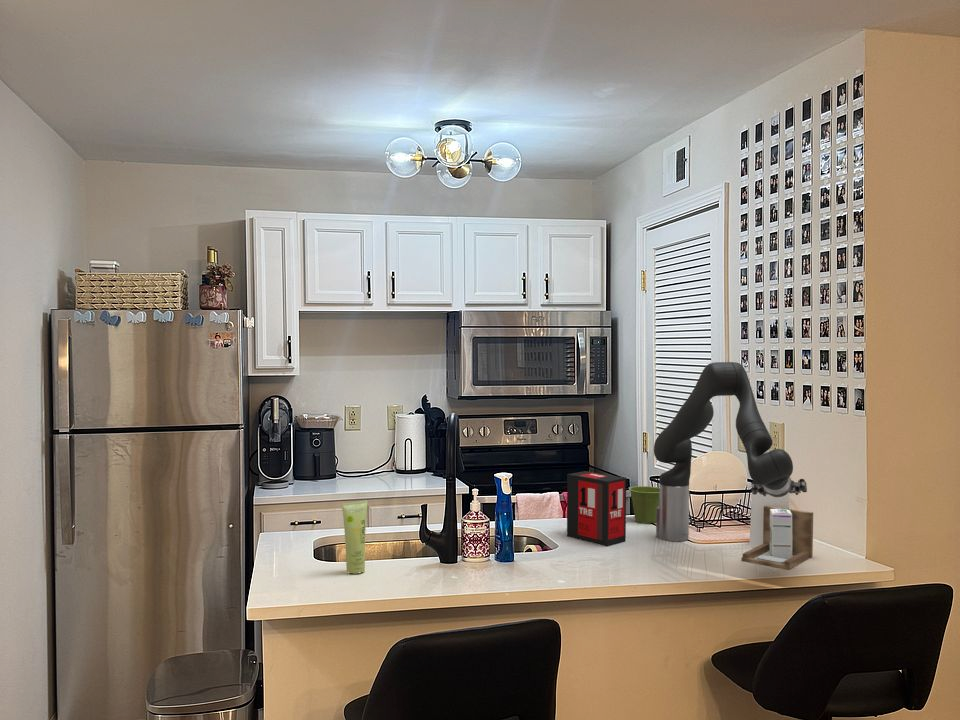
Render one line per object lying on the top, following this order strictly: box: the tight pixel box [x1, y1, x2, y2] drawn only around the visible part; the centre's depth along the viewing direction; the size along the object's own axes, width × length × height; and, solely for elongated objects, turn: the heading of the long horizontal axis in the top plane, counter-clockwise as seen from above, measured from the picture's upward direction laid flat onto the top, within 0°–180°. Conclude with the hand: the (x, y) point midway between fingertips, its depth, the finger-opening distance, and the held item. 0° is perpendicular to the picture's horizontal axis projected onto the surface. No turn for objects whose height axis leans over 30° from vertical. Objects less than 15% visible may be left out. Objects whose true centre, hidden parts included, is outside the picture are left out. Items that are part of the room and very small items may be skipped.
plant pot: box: [628, 485, 659, 525], centre depth 293 cm, size 12×12×11 cm
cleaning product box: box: [566, 470, 627, 547], centre depth 270 cm, size 16×9×20 cm, turn 42°
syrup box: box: [769, 509, 793, 559], centre depth 245 cm, size 6×6×14 cm
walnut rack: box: [740, 506, 814, 571], centre depth 243 cm, size 14×17×14 cm
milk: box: [748, 492, 790, 548], centre depth 260 cm, size 12×12×26 cm
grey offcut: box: [756, 554, 788, 564], centre depth 241 cm, size 7×4×1 cm, turn 49°
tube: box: [341, 499, 369, 574], centre depth 234 cm, size 6×5×20 cm
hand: (780, 491), depth 240 cm, fingers open, 8 cm apart
